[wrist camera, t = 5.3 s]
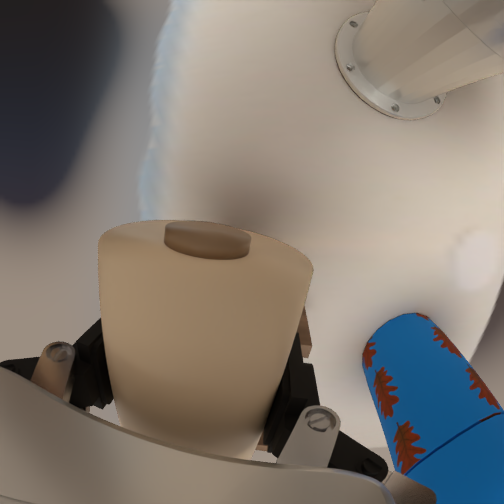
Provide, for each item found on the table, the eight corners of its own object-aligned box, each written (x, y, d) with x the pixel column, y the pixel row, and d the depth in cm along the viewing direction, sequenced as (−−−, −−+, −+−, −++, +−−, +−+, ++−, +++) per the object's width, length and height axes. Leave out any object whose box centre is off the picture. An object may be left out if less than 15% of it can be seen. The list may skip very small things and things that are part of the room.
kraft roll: (156, 203, 10) (49, 235, 5) (305, 231, 10) (338, 297, 4) (152, 394, 13) (110, 472, 8) (254, 420, 13) (242, 510, 7)
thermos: (450, 321, 27) (556, 462, 3) (408, 385, 30) (467, 531, 6) (387, 302, 27) (507, 504, 3) (345, 375, 30) (385, 565, 6)
